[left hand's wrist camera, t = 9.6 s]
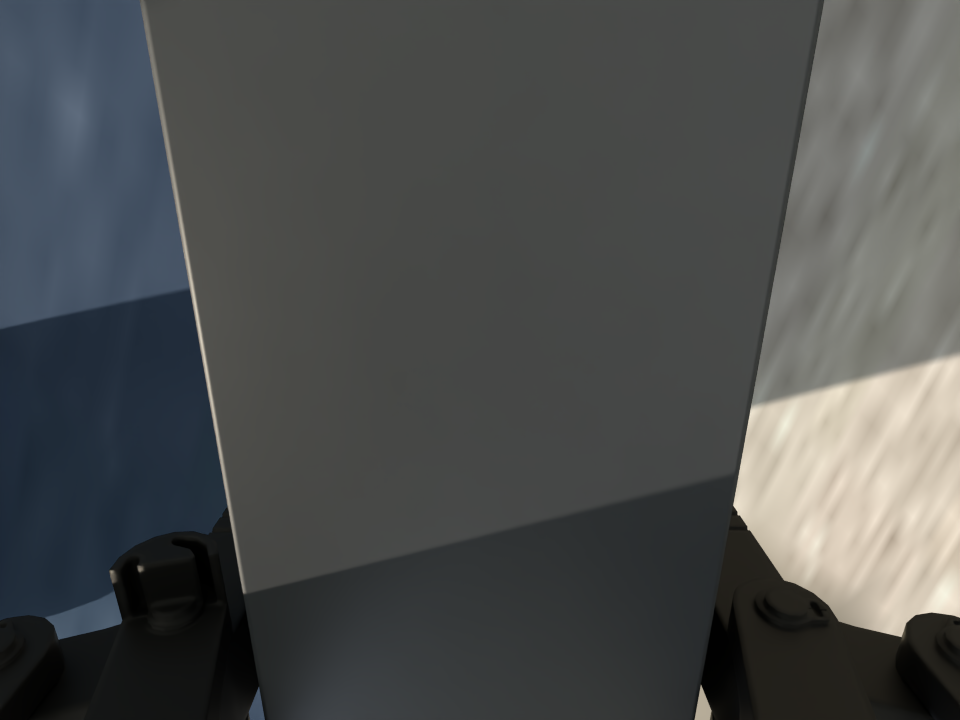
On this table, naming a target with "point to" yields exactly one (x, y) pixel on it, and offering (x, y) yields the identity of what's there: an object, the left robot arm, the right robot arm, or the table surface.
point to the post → (480, 332)
